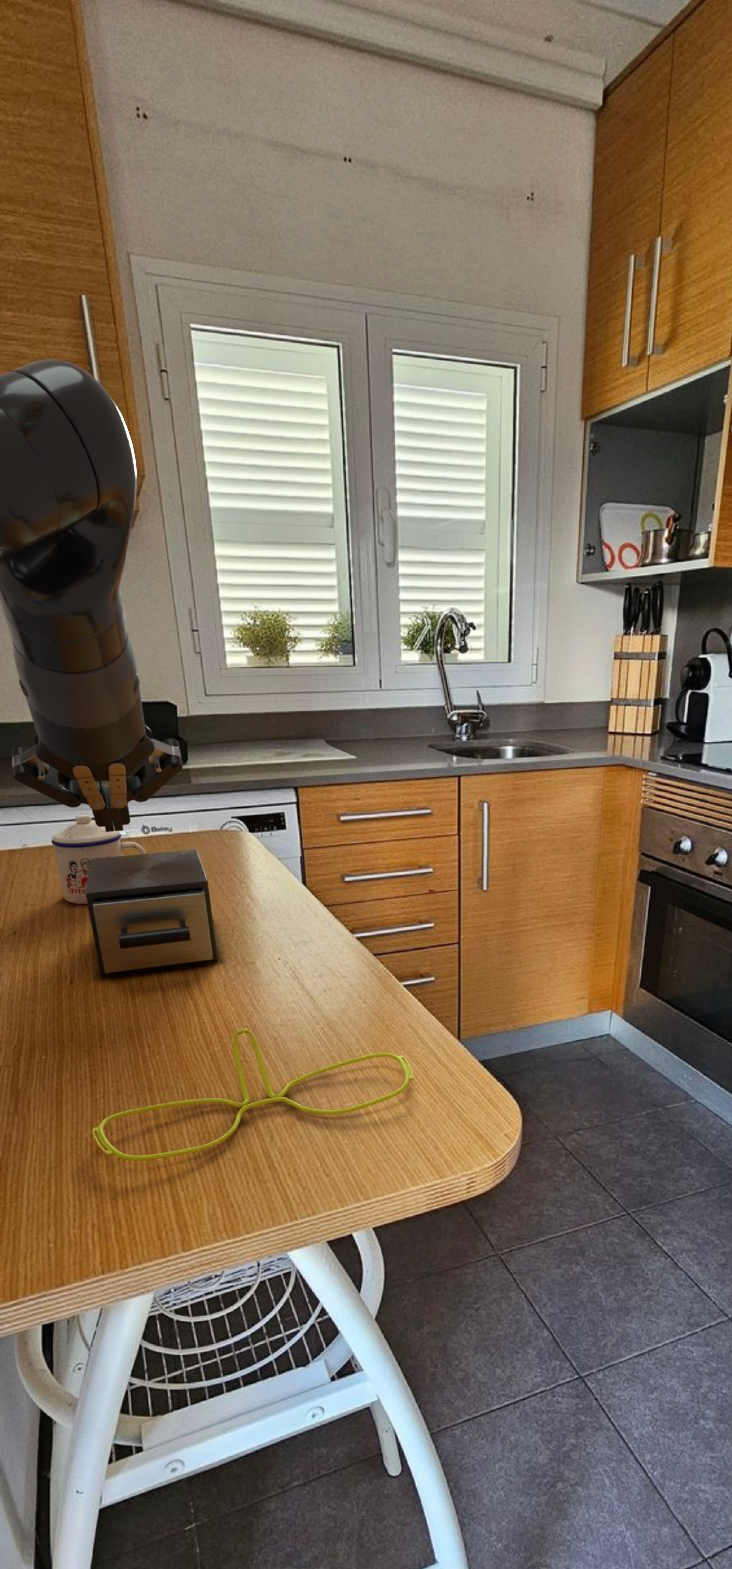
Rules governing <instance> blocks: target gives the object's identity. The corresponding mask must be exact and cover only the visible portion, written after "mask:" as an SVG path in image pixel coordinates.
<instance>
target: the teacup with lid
mask: <svg viewBox="0 0 732 1569" xmlns="http://www.w3.org/2000/svg"><path fill="white" fill-rule="evenodd" d="M74 820H75V822H74V823H71V824H69V825H67V827H66V828H65V829H63V830H60V831H58V832H55V833H54V834H53V835H52V837H51V844H52V845H53V847H54V852H55V857H56V862H57V867H58V873H59V877H60V883H61V889H62V894H63V898H64V900H65V901H66V902H69V903H72V904H76V905H88V904H87V898H86V888H87V881H88V874H89V867H90V860H91V859H95V858H106V857H117V856H124V855H123V850H122V849H128V848H132V849H135V850H137V851H138V852H139V853H140V854H147V853H146V850H145V848H144V847H143V846H142V845H141V844H139V843H137V842H134V841H125V842H121V838H122V834H121V831H115V828H114V831H112V832H106V830H105V827H98V826H97V825H96V823H95V820H94V821H93V820H92V817H91V815H90V814H79V815H76V816H75V818H74Z"/></svg>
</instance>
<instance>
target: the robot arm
mask: <svg viewBox="0 0 732 1569" xmlns="http://www.w3.org/2000/svg"><path fill="white" fill-rule="evenodd" d="M129 433H130V432H129V431H128V428H127V425H126V423H125V421H124V418H123V415H122V413H121V412H120V410H119V408H118V406H117V404H116V403H115V401H114V399H113V398H112V397H111V396H110V394H109V392H108V391H107V389H105V387H104V385H102V384H101V383H100V381H98V380H97V379H96V378H95V377H94V376H93V375H92V374H91V373H89V372H88V371H87V370H85V369H84V368H83V367H80V366H79V365H77V364H75V363H73V362H70V361H68V360H64V359H57V358H47V359H41V360H36V361H32V362H29V363H27V364H24V365H22V366H19V367H17V368H15V369H12V370H10V371H8V372H4V373H2V374H0V605H1V609H2V612H3V616H4V619H5V622H6V625H7V629H8V632H9V635H10V637H11V642H12V648H13V658H14V664H15V667H16V671H17V674H18V684H19V685H20V689H21V692H22V694H23V695H24V697H25V699H26V702H27V706H28V709H29V713H30V715H31V716H30V717H31V718H32V719H31V720H32V722H33V725H34V728H35V731H36V732H35V735H34V737H33V743H34V745H33V746H32V747H29V748H26V747H23V746H16V747H13V748H12V749H11V756H12V758H11V761H12V762H11V763H12V770H13V778H14V780H15V781H16V782H19V783H20V784H22V785H24V786H26V787H29V788H30V789H32V790H34V791H36V792H38V793H40V794H42V795H44V796H46V797H48V798H50V799H52V800H53V801H54V800H55V801H56V802H58V803H60V804H62V805H64V806H66V807H68V808H78V807H80V806H81V805H82V804H84V805H87V806H88V807H89V808H90V809H91V812H92V815H93V819H94V822H95V823H96V825H97V826H98V827H105V830H106V832H112V831H114V828H115V831H119V832H122V831H124V830H125V829H124V826H127V825H130V823H131V814H130V809H129V802H131V801H135V802H137V803H145V802H147V801H148V800H149V799H151V798H152V797H153V796H154V795H155V794H156V793H158V791H160V790H161V789H162V788H163V787H164V786H165V785H166V784H167V783H168V782H170V781H171V780H172V779H173V778H175V776H176V775H178V773H180V772H181V771H182V770H183V767H184V766H183V761H182V760H183V759H182V755H181V749H180V744H179V741H178V740H177V739H176V738H166V739H165V740H163V742H162V741H161V740H158V739H155V738H154V735H153V732H152V730H151V729H150V728H149V726H147V724H145V717H144V710H143V704H142V695H141V689H140V685H141V683H140V682H141V680H140V677H139V674H138V669H137V662H136V657H135V652H134V649H133V646H132V643H131V640H130V637H129V633H128V628H127V621H126V620H127V619H126V614H125V613H126V612H125V607H124V606H125V605H124V601H123V595H122V590H121V581H122V578H123V575H124V574H123V573H124V570H125V566H126V562H127V556H128V549H129V544H130V536H131V530H132V525H133V519H134V512H135V506H136V497H137V466H136V458H135V453H134V447H133V443H132V438H131V436H130V434H129ZM103 782H107V783H108V786H106V787H105V785H104V784H103Z"/></svg>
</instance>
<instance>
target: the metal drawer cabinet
mask: <svg viewBox="0 0 732 1569" xmlns="http://www.w3.org/2000/svg"><path fill="white" fill-rule="evenodd" d="M188 889H196V891H204V894H205V901H206V909H207V917H208V925H209V933H210V940H211V948H212V956H213V959H211V960H203V961H196V962H188V963H180V964H173V965H165V966H157V967H150V968H142V969H134V970H127V971H119V972H111V973H105V971H104V965H103V960H102V954H101V949H100V943H99V938H98V932H97V927H96V921H95V916H94V910H93V902H99V901H101V898H111V897H121V896H130V895H140V894H149V893H159V892H169V891H178V890H188ZM86 898H87V904H86V905H87V908H88V914H89V919H90V920H89V921H90V925H91V930H92V935H93V941H94V946H95V953H96V957H97V963H98V969H99V973H100V976H101V977H106V976H107V977H108V976H113V975H121V974H128V973H136V972H137V973H138V972H143V971H144V972H145V971H152V970H160V969H167V968H175V967H183V966H189V965H190V966H191V965H198V964H204V963H205V964H207V963H214V962H218V961H219V958H218V951H217V950H218V949H217V943H216V935H215V934H216V933H215V928H214V919H213V912H212V911H213V910H212V904H211V896H210V888H209V881H208V877H207V875H206V871H205V869H204V866H203V863H202V860H201V857H200V854H199V850H198V849H197V848H196V849H186V850H185V849H184V850H174V851H163V852H153V853H146V854H141V853H140V854H129V855H123V856H117V857H106V858H95V859H91V860H90V867H89V874H88V881H87V888H86Z"/></svg>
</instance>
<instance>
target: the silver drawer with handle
mask: <svg viewBox="0 0 732 1569" xmlns="http://www.w3.org/2000/svg"><path fill="white" fill-rule="evenodd" d="M93 910H94V916H95V921H96V927H97V932H98V938H99V943H100V949H101V954H102V960H103V965H104V971H105V973H111V972H119V971H127V970H134V969H142V968H150V967H157V966H165V965H173V964H180V963H188V962H196V961H203V960H211V959H213V956H212V948H211V940H210V933H209V925H208V917H207V909H206V901H205V894H204V891H196V889H188V890H178V891H169V892H159V893H149V894H140V895H130V896H121V897H111V898H101V901H99V902H93Z"/></svg>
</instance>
